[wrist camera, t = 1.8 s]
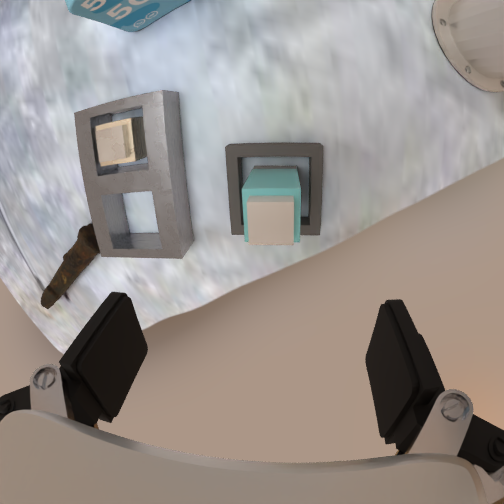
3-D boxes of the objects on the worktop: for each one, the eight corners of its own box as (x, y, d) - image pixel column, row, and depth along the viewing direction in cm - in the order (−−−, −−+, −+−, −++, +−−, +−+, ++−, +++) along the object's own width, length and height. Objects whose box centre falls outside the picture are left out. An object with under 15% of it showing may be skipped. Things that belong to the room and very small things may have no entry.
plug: (296, 165, 26) (302, 194, 18) (296, 205, 28) (300, 251, 19) (254, 165, 27) (238, 194, 18) (256, 205, 29) (241, 251, 20)
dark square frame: (319, 143, 25) (322, 145, 23) (317, 226, 29) (319, 235, 27) (229, 144, 26) (225, 146, 24) (235, 225, 30) (231, 234, 28)
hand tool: (95, 217, 32) (73, 232, 28) (114, 241, 33) (95, 259, 29) (45, 281, 38) (29, 297, 34) (60, 299, 40) (45, 315, 36)
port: (178, 92, 24) (155, 89, 19) (193, 240, 31) (178, 265, 27) (96, 110, 25) (66, 114, 20) (118, 241, 32) (95, 262, 28)
